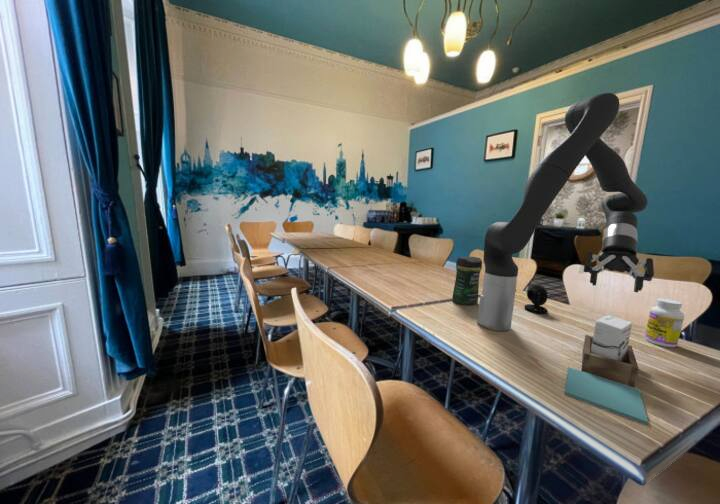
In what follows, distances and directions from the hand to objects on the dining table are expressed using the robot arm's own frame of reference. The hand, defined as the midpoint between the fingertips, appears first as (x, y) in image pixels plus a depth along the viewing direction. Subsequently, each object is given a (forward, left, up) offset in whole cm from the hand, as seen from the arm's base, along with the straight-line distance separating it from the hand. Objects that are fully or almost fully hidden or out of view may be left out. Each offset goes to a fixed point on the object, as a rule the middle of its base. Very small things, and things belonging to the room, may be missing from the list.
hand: (614, 287), depth 75 cm
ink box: (0, -14, -17) cm, 22 cm away
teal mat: (-1, -28, -17) cm, 33 cm away
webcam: (-19, +19, -17) cm, 32 cm away
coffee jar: (-42, +9, -17) cm, 46 cm away
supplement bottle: (+13, +15, -17) cm, 27 cm away
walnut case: (0, -14, -17) cm, 22 cm away
